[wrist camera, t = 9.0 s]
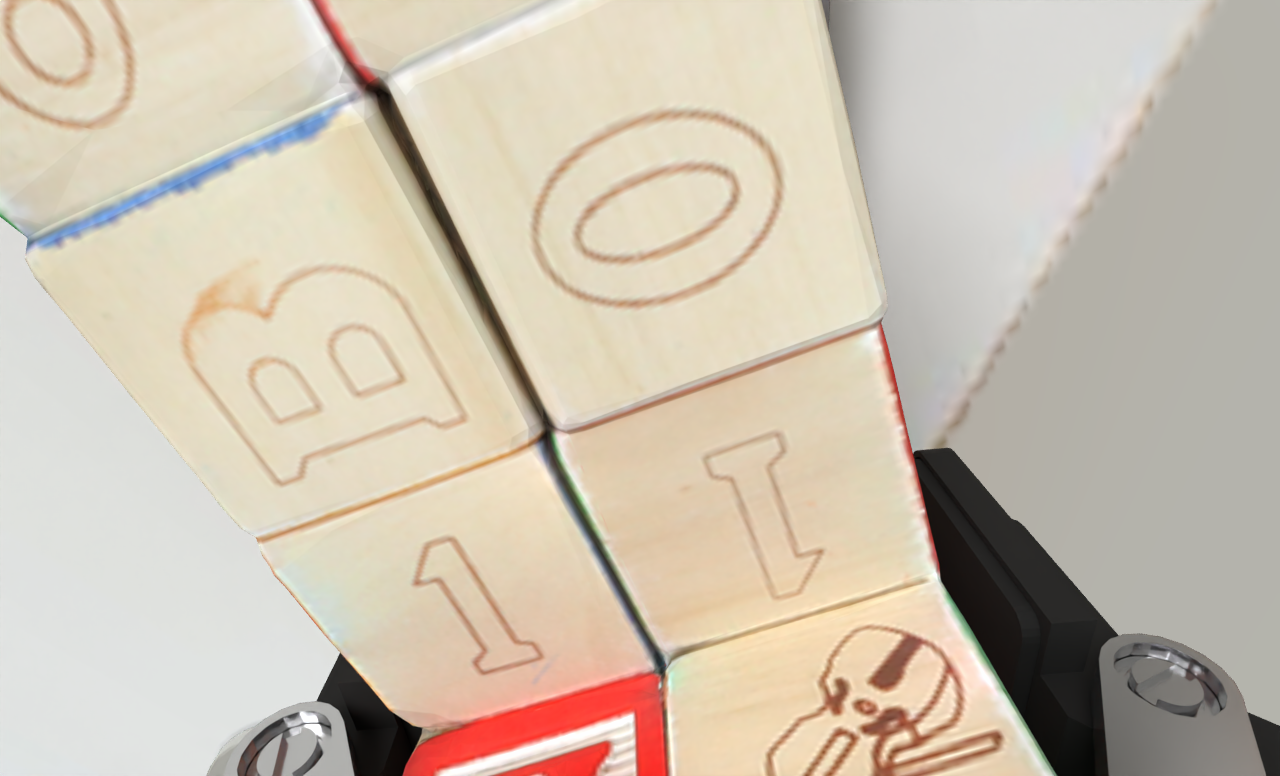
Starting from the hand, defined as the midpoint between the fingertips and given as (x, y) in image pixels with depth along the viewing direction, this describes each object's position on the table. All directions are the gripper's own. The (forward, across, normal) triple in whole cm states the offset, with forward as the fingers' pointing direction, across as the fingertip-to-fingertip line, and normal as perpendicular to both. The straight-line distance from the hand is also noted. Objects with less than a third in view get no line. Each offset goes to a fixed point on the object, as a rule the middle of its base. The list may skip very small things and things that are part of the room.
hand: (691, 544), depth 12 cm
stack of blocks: (+5, 0, 0) cm, 5 cm away
